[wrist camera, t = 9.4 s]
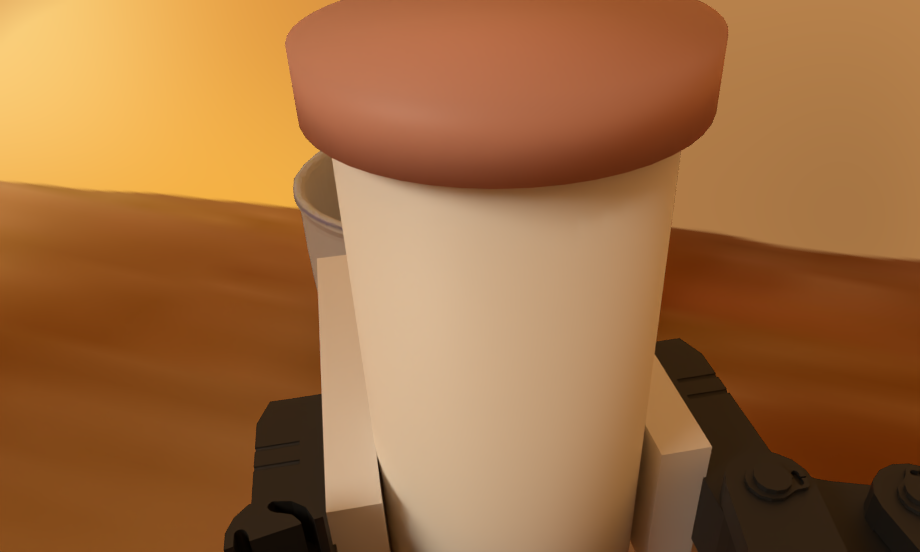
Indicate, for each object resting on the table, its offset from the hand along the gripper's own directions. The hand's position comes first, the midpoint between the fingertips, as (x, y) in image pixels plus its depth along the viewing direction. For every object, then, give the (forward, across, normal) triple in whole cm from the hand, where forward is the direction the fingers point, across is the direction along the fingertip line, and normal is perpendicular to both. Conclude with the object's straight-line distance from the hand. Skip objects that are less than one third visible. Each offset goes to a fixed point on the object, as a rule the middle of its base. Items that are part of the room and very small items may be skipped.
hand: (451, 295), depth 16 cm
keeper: (-5, 0, -9) cm, 10 cm away
